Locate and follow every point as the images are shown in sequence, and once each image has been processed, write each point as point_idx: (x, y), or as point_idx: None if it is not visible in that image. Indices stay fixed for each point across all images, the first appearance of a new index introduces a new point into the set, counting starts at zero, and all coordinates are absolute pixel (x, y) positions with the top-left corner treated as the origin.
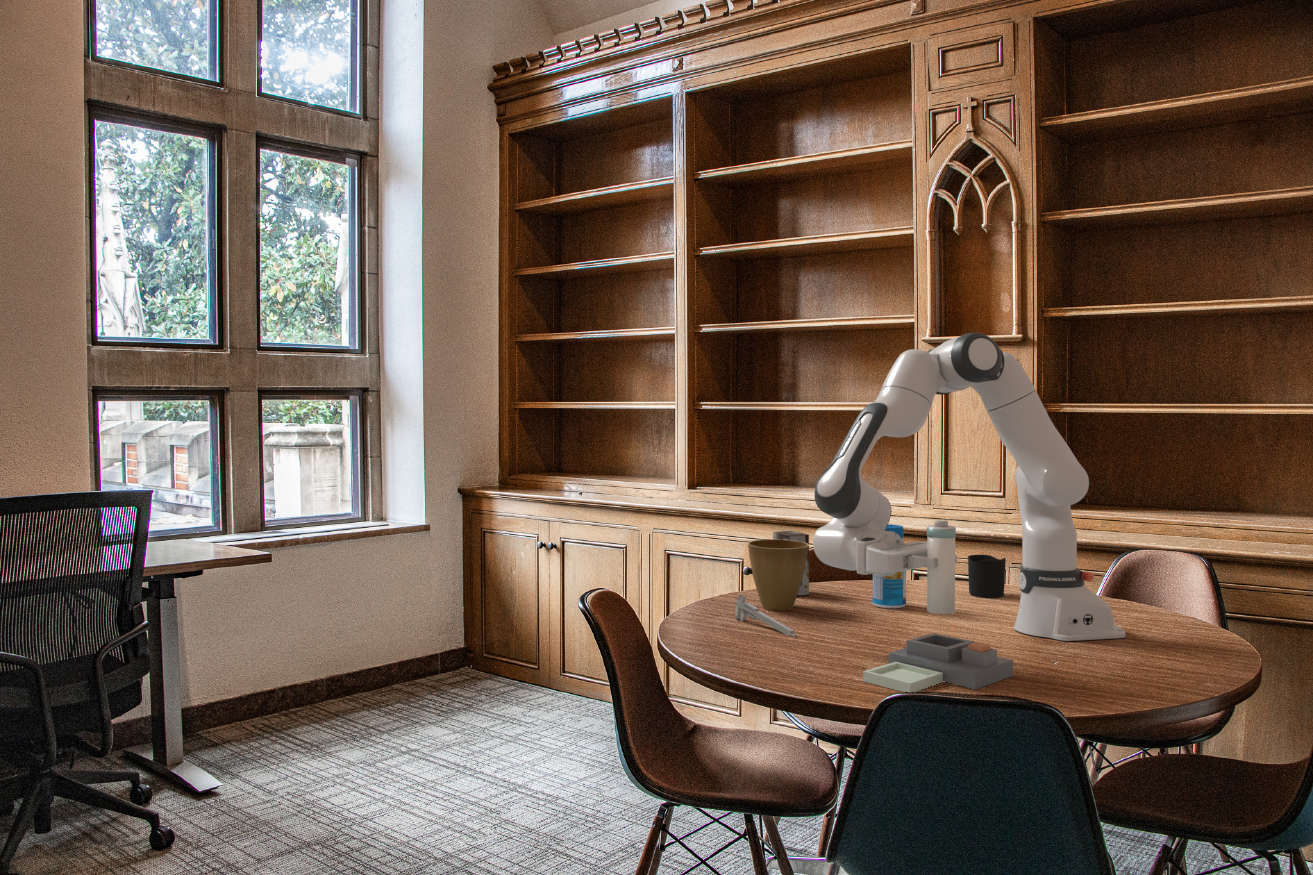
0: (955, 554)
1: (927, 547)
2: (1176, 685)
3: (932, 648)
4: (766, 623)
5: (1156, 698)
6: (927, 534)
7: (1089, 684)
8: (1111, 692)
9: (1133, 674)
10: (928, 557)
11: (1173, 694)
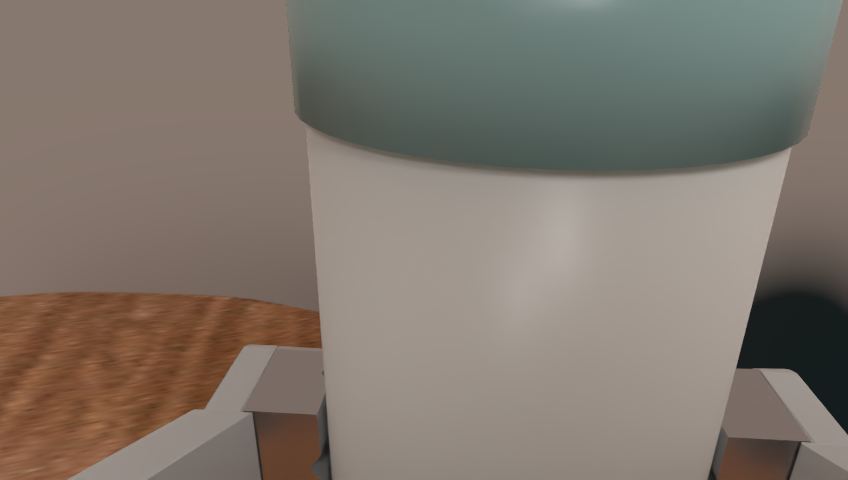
0: (251, 345)
1: (719, 370)
2: (183, 338)
3: None
4: None
5: (317, 338)
6: (808, 102)
7: None
8: None
9: (112, 401)
10: (780, 426)
11: (264, 329)
